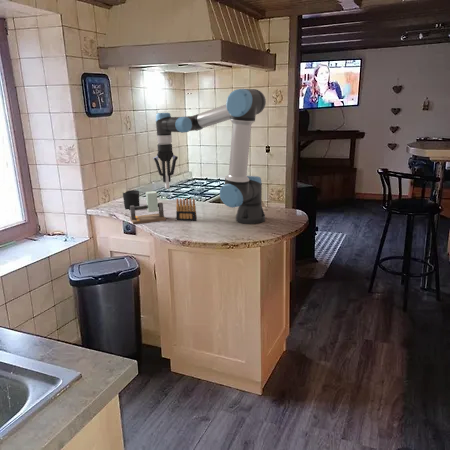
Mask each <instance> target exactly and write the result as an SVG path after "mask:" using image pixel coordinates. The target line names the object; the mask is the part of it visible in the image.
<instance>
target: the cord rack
mask: <svg viewBox="0 0 450 450" xmlns="http://www.w3.org/2000/svg"><path fill="white" fill-rule="evenodd" d="M147 208H148V205H147V204H146V205H140V206H136V207H135V206H134V205H133V206H130V210H129V211H130V216H129V219H130V221H131V222H132V224H133V225H138V224H147V223H155V222H163V221H167V218H166V217H165V213H164V203H163V202H158V213H152V214H142V215H136V210H144V209H146V210H147Z"/></svg>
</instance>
